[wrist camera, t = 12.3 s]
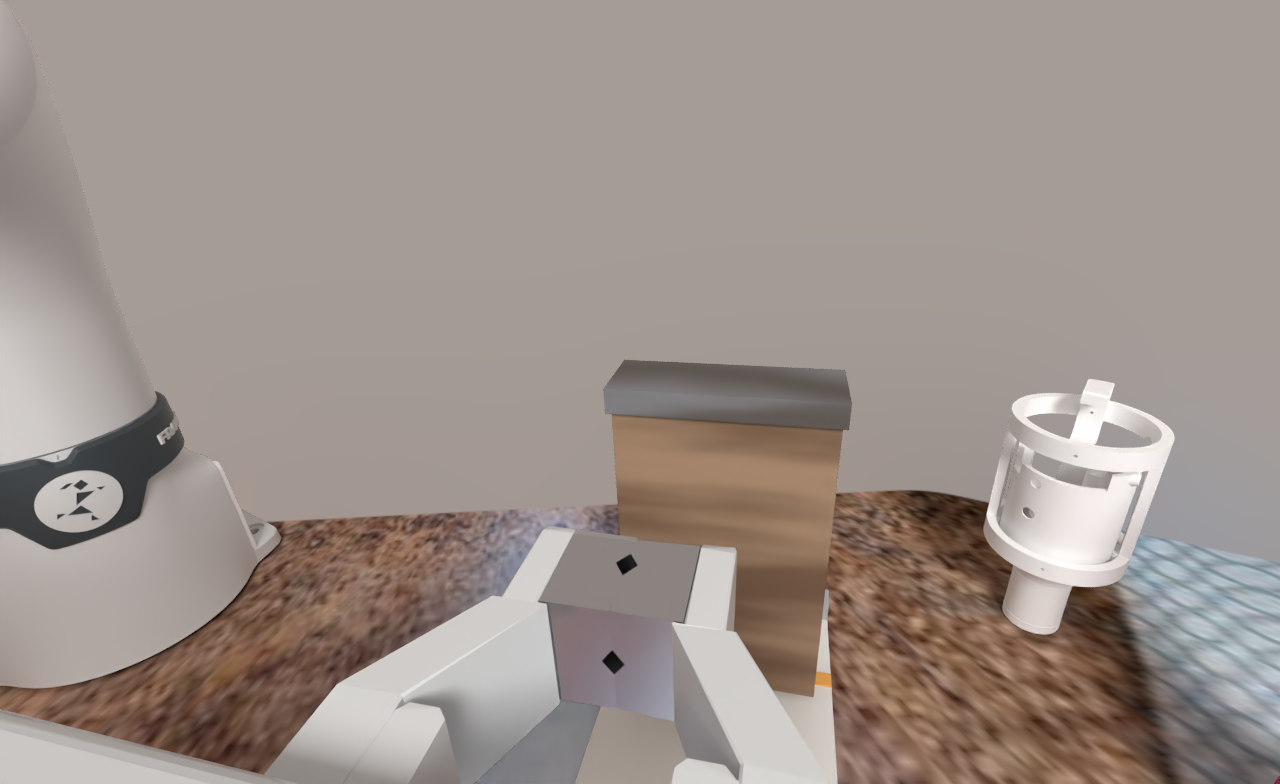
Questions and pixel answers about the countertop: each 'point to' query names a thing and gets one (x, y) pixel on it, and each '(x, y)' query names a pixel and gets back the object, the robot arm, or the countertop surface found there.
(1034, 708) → the countertop surface
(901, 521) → the countertop surface
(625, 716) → the slide board
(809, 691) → the block
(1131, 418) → the white cylindrical cage holder
